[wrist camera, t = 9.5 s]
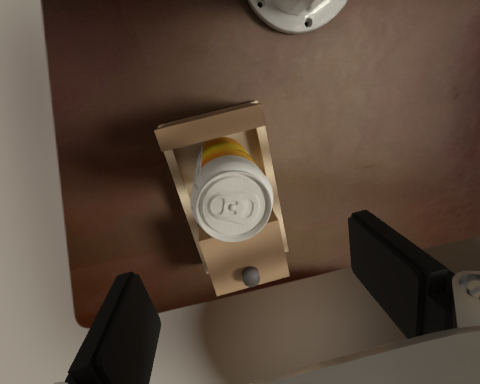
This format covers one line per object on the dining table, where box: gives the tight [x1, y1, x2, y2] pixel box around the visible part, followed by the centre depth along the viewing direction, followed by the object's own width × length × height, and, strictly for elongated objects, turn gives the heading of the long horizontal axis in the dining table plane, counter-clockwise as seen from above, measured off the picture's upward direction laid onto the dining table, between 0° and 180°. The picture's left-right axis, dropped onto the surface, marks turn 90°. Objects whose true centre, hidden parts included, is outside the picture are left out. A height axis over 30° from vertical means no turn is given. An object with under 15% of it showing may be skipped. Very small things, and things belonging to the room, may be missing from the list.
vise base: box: [154, 101, 288, 274], centre depth 30 cm, size 20×12×8 cm, turn 13°
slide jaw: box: [198, 210, 289, 296], centre depth 31 cm, size 8×9×7 cm
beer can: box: [190, 137, 274, 242], centre depth 24 cm, size 6×6×15 cm
